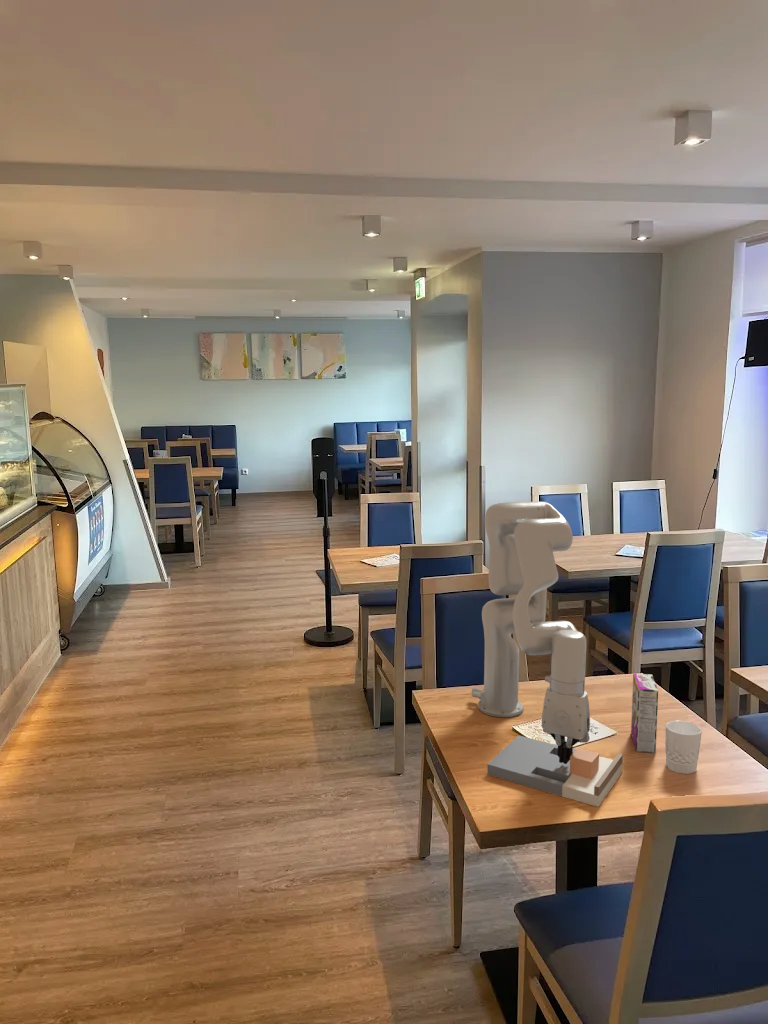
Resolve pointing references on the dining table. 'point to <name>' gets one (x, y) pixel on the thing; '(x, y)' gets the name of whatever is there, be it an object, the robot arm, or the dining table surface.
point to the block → (584, 763)
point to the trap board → (553, 771)
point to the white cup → (682, 746)
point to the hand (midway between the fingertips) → (564, 760)
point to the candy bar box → (644, 713)
